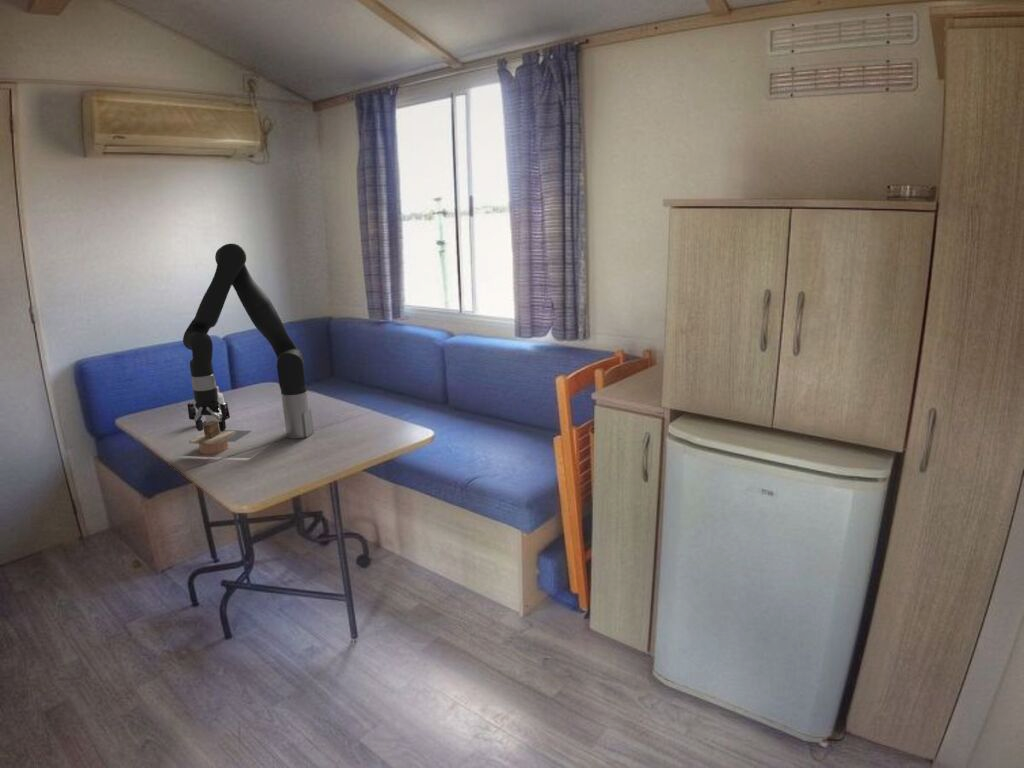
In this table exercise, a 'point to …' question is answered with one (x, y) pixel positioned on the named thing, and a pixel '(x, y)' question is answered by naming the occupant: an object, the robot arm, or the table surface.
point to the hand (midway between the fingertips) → (211, 430)
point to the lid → (212, 434)
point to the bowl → (213, 447)
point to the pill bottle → (220, 400)
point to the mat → (237, 435)
